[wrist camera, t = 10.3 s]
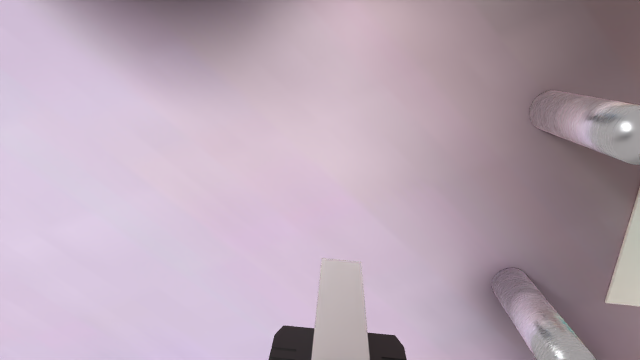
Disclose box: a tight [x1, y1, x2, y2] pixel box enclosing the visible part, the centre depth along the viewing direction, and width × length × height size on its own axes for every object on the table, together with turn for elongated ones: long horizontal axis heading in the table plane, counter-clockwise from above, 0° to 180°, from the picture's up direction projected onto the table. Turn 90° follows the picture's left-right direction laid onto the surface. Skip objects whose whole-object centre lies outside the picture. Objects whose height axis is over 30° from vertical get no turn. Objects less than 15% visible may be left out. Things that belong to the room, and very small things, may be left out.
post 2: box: [492, 268, 597, 360], centre depth 27 cm, size 3×3×9 cm
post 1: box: [529, 90, 640, 165], centre depth 23 cm, size 3×3×9 cm
